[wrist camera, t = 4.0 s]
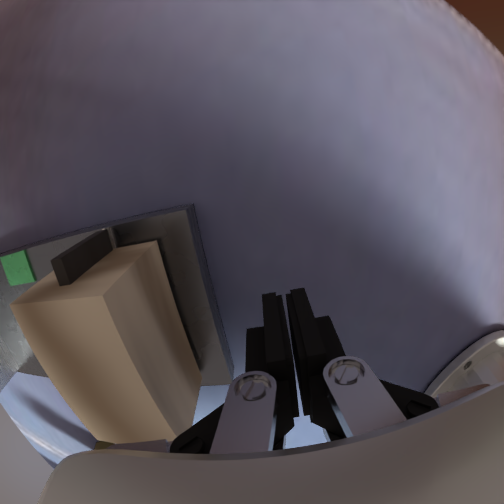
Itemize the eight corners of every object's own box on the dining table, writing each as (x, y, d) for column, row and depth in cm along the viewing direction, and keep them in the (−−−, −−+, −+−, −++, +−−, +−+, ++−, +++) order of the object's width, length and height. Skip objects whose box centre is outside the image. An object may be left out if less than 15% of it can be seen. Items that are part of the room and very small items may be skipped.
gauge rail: (193, 203, 13) (125, 264, 6) (234, 366, 16) (224, 474, 9) (-31, 264, 14) (-85, 301, 7) (14, 360, 18) (-25, 408, 11)
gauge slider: (151, 218, 11) (90, 262, 7) (202, 377, 14) (187, 451, 10) (66, 238, 12) (-1, 280, 7) (126, 378, 15) (97, 439, 10)
